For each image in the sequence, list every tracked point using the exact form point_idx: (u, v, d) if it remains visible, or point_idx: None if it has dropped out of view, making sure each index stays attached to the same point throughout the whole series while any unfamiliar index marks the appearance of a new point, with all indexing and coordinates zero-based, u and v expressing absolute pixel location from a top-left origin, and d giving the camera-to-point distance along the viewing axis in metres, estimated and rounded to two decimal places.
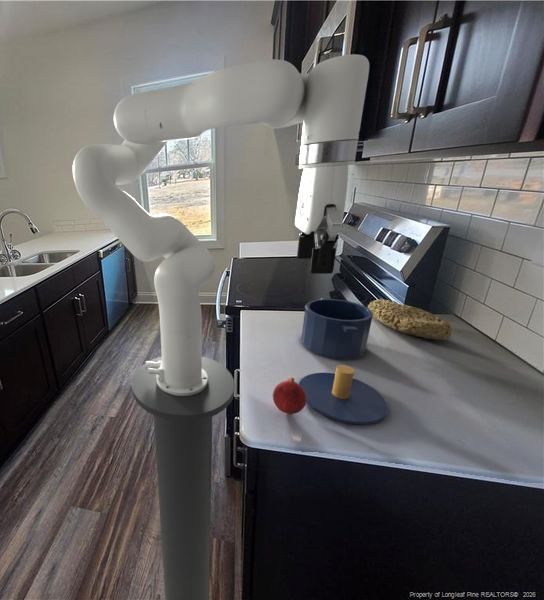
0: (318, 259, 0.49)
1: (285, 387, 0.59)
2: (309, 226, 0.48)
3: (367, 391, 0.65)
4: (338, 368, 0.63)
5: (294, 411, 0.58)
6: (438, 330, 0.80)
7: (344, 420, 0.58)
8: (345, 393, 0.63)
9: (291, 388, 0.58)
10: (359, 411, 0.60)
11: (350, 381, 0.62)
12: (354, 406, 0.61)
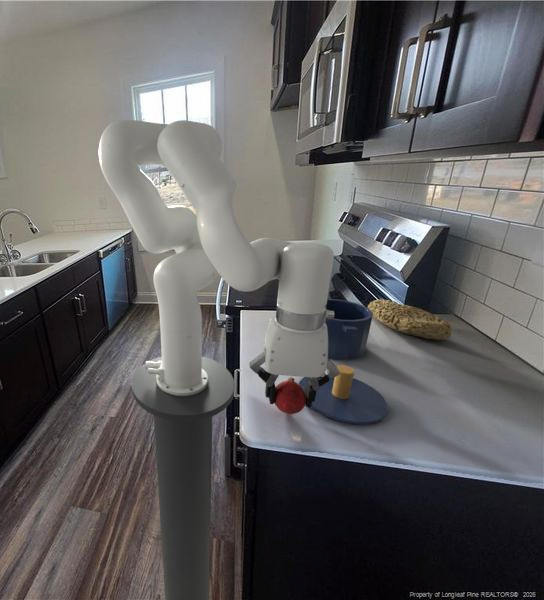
0: None
1: (285, 387, 0.59)
2: None
3: (367, 391, 0.65)
4: (338, 368, 0.63)
5: (294, 411, 0.58)
6: (438, 330, 0.80)
7: (344, 420, 0.58)
8: (345, 393, 0.63)
9: (291, 388, 0.58)
10: (359, 411, 0.60)
11: (350, 381, 0.62)
12: (354, 406, 0.61)
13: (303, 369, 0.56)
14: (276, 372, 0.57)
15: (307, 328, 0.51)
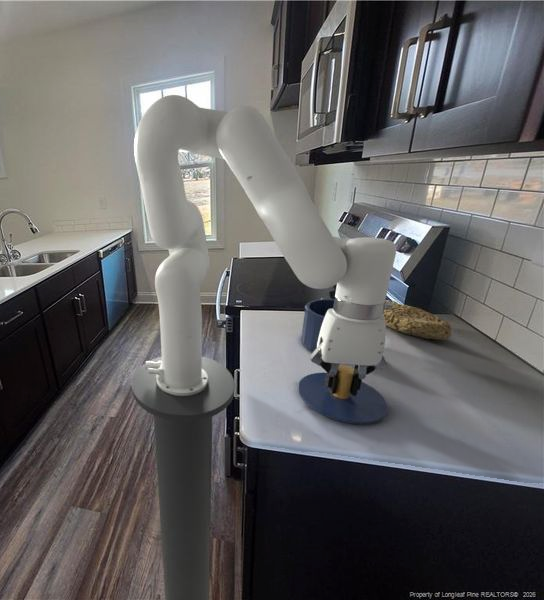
0: None
1: None
2: None
3: (367, 391, 0.65)
4: (338, 368, 0.63)
5: None
6: (438, 330, 0.80)
7: (344, 420, 0.58)
8: (345, 393, 0.63)
9: None
10: (359, 411, 0.60)
11: (350, 381, 0.62)
12: (354, 406, 0.61)
13: (360, 357, 0.59)
14: (333, 360, 0.60)
15: (368, 318, 0.54)
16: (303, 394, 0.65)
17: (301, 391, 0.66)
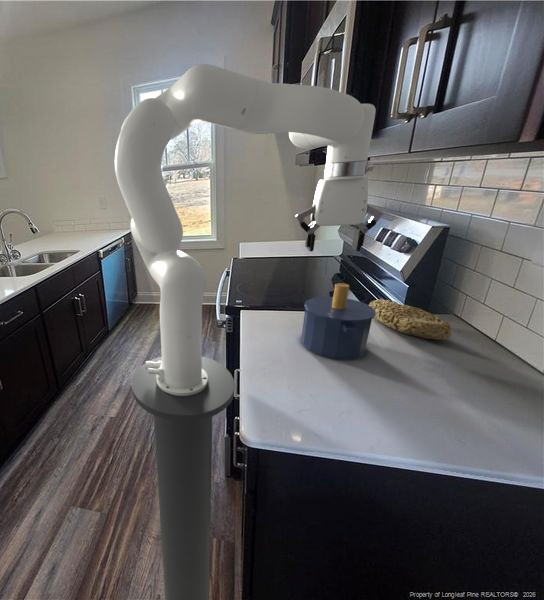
0: None
1: None
2: None
3: (360, 305, 0.81)
4: (336, 284, 0.79)
5: None
6: (438, 330, 0.80)
7: (341, 320, 0.74)
8: (342, 304, 0.79)
9: None
10: (353, 315, 0.76)
11: (346, 293, 0.78)
12: (349, 313, 0.77)
13: (347, 216, 0.69)
14: (324, 222, 0.71)
15: (353, 174, 0.65)
16: (308, 308, 0.81)
17: (307, 306, 0.82)
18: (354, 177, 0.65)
